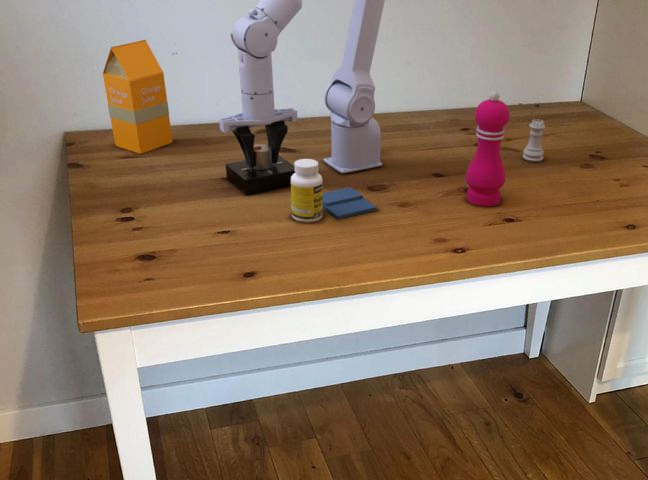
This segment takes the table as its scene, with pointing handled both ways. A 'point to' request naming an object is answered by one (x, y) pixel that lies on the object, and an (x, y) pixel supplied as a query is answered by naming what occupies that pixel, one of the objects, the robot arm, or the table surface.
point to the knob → (263, 157)
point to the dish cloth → (346, 203)
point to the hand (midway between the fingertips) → (262, 163)
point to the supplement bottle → (306, 191)
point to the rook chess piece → (534, 143)
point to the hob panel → (260, 176)
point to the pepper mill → (488, 153)
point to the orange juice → (137, 98)
